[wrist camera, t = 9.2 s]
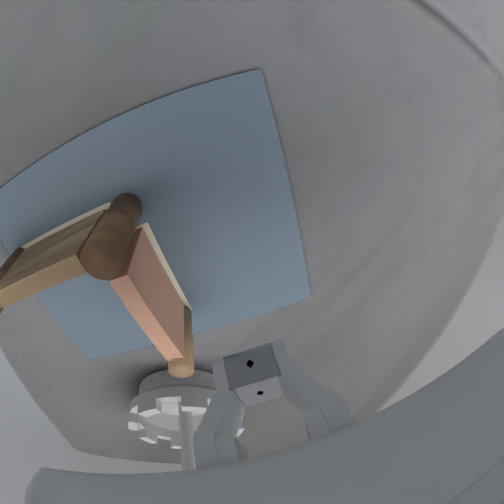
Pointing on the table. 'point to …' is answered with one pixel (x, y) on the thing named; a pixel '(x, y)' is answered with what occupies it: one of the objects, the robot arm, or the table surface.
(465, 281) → the table surface
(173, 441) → the flag stand
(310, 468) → the robot arm
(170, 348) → the fence section
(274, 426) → the table surface
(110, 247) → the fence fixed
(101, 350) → the board
